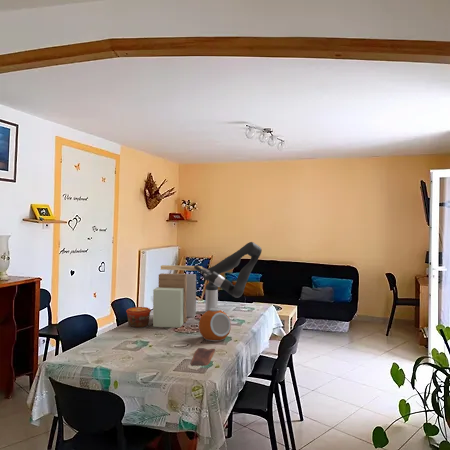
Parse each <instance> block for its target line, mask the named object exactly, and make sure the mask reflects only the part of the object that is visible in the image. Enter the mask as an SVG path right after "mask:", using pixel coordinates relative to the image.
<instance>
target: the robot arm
mask: <svg viewBox="0 0 450 450" xmlns="http://www.w3.org/2000/svg"><path fill="white" fill-rule="evenodd" d="M246 255H248V256H250V260H249V262H247V264H246V265H244V266H242V268H241V270H240V271H239V273H238V276H237V278H236V281H235V284H234V283H232V282H231V281H230V280H229V279H227V278H225V276H223V275H221V274H223V273H226V272H228V271H229V272H230V271H231V270H234V269H235V268H236V267H238V266H239V265H240V263H241V259H242V258H243V257H244V256H246ZM261 255H262V247H261V246H259V245H258V244H256V243H255V242H253V241H250V242H247V243H246V244H245V245H243V246H241V248H239V249H238V250H236V251H234V253H232V254H230V255H228V256H227V257H225V258H224V259H222V260H221V261H218V263H216V264H215V265H212V266H210V267H209V268H205V267H203V266H202V269H201V268H199V267H198V266H200V265H199V264H196V265H194V266H195V267H194V268H195V269H196V270H198V273H199V274H201V275H203V276H202V277H203V279H204V280H205V281H208V283H207V284H206V285H205V302H204V303H205V312H207V311H209V310H210V309H211V308H218V307H219V304H218V303H219V299H218V297H219V293H218V292H219V288H220V289H222V290H224V291H225V292H227V293H228V294H229V295H230V296H231V297H234V298H240V297H242V295H243V294H244V292H245V287H246V284H247V283H248V280H249V277H250V275H251V272H252V271H253V269H254V267H255V265H256V264H257V262H258V260H259V258H260V256H261ZM205 312H204V313H205Z"/></svg>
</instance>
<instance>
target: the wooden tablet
mask: <svg viewBox="0 0 450 450" xmlns="http://www.w3.org/2000/svg"><path fill="white" fill-rule="evenodd" d="M215 352H216V349H215V348H208V349H207V348H204V347H198V348H197V349H196V351H195V352H194V354H193V356H192V360H191V362H190V365H191V366H197V367H205V366H208V365H209V364H210V363H211V361H212V358H213V356H214V354H215Z"/></svg>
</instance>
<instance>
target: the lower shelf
mask: <svg viewBox="0 0 450 450" xmlns="http://www.w3.org/2000/svg"><path fill="white" fill-rule="evenodd" d="M152 291H153V295H152V296H153V300H152V302H153V304H152V314H153V315H152V316H153V317H152V319H153V320H152V324H153V325H152V327H161V328H181V327H182V326H183V325H184V323H183V288H159V286H158V287H157V286H156V288H153V290H152Z"/></svg>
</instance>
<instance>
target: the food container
mask: <svg viewBox="0 0 450 450" xmlns="http://www.w3.org/2000/svg"><path fill="white" fill-rule="evenodd" d="M125 312H126V316H127V322H128V324H127V325H128V327H130V328H134V329H138V328H139V329H140V328H145V327H148V326H149V325H150V323H149V322H150V316H151V312H152V310H151V308H150V307H147V306H146V307H145V306H143V307H142V306H136V307H129V308H127V309H126V311H125Z"/></svg>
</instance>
